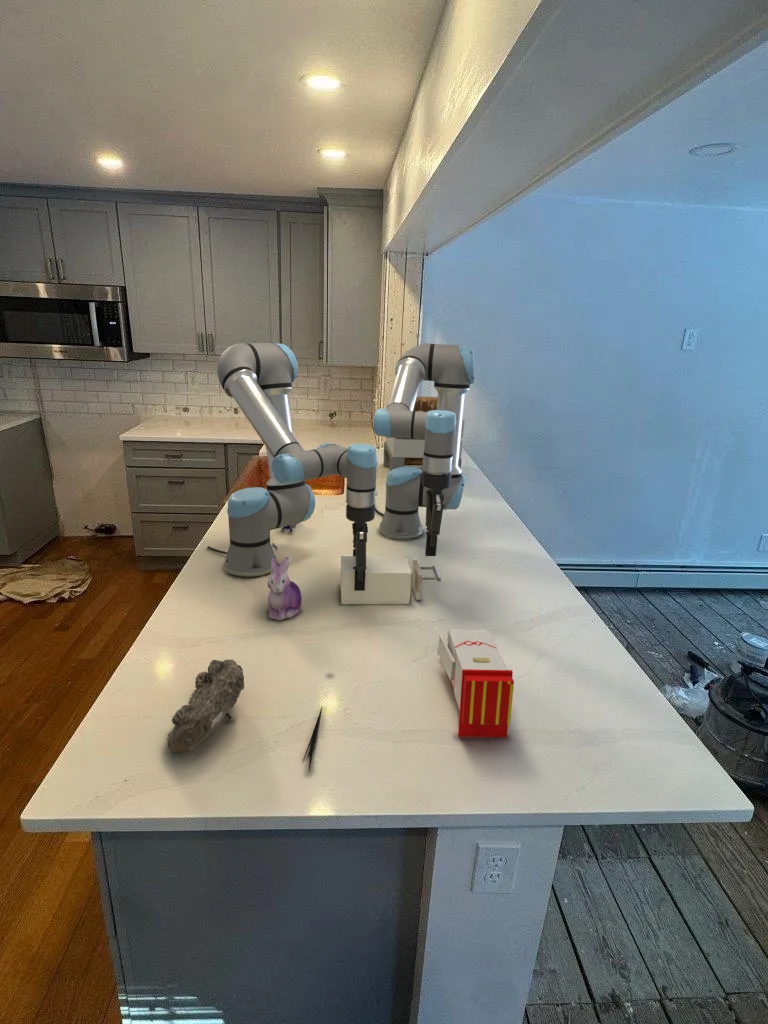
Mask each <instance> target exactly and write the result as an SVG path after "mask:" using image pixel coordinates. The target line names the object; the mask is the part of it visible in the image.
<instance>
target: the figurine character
mask: <svg viewBox="0 0 768 1024" xmlns="http://www.w3.org/2000/svg"><path fill="white" fill-rule="evenodd" d="M296 525H297V524H293V525H289V526H285V527H281V531H280V532H281V533H284V531H285V530H289V533H292V531H293V529H295V528H296Z"/></svg>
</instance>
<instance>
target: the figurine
mask: <svg viewBox="0 0 768 1024" xmlns="http://www.w3.org/2000/svg"><path fill="white" fill-rule="evenodd" d="M289 566H290V557H289V556H286V557H285V558H284V559H283V560H282V561H281V563H279V561H278V559H277V557H276V558H273V559H272V561H271V572H270V575H269V576H268V579H267V588H268V589H269V590H270V591H269V592H268V595H267V601H268V607H269V609H268V612H269V614H268V616H269V618H270V619H273V620H277V621H283V620H286V619H291V618H293V617H294V616H296V615H297V614H299V613H300V612H301V608H302V592H301V590H300V589H301V588H300V587H299V586H298V584H296V583H295V582H294V581H291V580H290V577H289V575H288V569H289Z"/></svg>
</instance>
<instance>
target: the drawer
mask: <svg viewBox="0 0 768 1024" xmlns="http://www.w3.org/2000/svg"><path fill="white" fill-rule="evenodd" d="M408 564H409V565H410V562H409V561H408ZM423 570H425V571H428V570H429V571H430V570H432V573H433V576H432V577H431V576H429V577H428V576H424V577H423V573H422V571H423ZM423 581H436V582H438V583H439V582H441V581H442V578H441V575H440V573H439V570H438V569H437V566H436V565H432V566H420V565H419V562H418V559H412V569H411V587H410V598H412V590H413V593H414V594H413V595H414V597H415V600H416V601H420V600H421V599H422V585H423Z"/></svg>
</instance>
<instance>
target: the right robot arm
mask: <svg viewBox="0 0 768 1024" xmlns="http://www.w3.org/2000/svg"><path fill="white" fill-rule="evenodd" d="M474 352H475V351H474V349H473V347H471V346H469V345H463V344H443V343H427V342H426V343H421V344H418V345H415V346H413V347H411V348H410V349H408V350H407V351H405V352H404V353H403V354H402V355H401V356H400V357H399V359H398V360H397V362H396V365H395V369H394V374H395V379H394V382H393V385H392V388H391V391H390V394H389V398H388V401H387V403H386V407H384V408H377V409H376V410H375V413H374V417H373V432H374V434H375V436H378V437H383V438H384V437H385V438H386V437H387V438H390V437H391V438H407V439H419V440H425V443H424V454H423V466H421V468H422V469H421V468H420V467H419V466H418V467H417V466H404V467H400V468H396V469H393V470H391V471H390V470H389V471H388V473H387V475H386V482H385V504H384V505H385V507H384V508H385V509H384V512H381V511H379V510H378V509H377V508H376V505H375V504H374V506H375V513H377V515H378V514H379V515H380V516H381V517H382V519H381V522H379V526H378V533H379V534H380V535H381V536H382V537H385V538H387V539H389V540H395V541H410V540H415V539H418V538H420V537H421V536H422V535H423V525H422V524H421V518H420V515H419V508H425V527H426V528H425V536H426V537H425V549H424V555H425V557H436V556H437V546H438V536H440V534H441V526H442V520H443V512H444V511H446V510H457V509H458V508H460V504H461V501H462V498H463V493H464V488H465V483H466V477H465V476H464V475H463V474H462V473H463V471H462V468H461V469H460V468H459V467H458V459H459V448H460V439H461V438H460V437H461V426H462V419H463V414H464V403H465V394H466V393H467V392H468V391H470V388H471V385H473V384H475V382H476V381H475V379H476V377H475V353H474ZM423 381H426V382H427V381H428V382H433V388H434V389H435V391H436V393H437V397H438V400H437V410H432V411H429V412H420V411H413V409H414V405H415V400H416V397H417V396H418V392H419V388H420V384H421V383H422V382H423ZM422 470H423V471H422Z"/></svg>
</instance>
